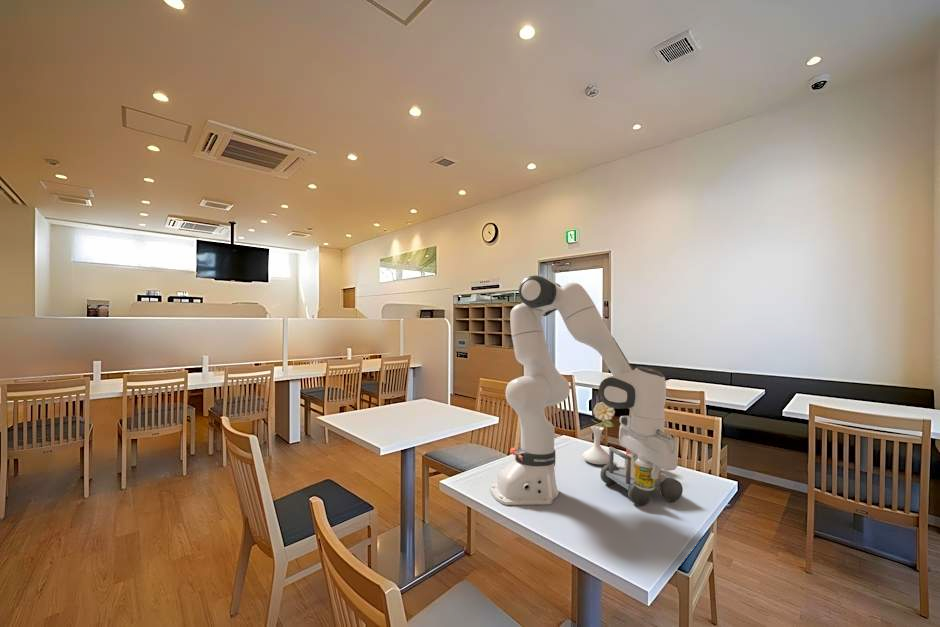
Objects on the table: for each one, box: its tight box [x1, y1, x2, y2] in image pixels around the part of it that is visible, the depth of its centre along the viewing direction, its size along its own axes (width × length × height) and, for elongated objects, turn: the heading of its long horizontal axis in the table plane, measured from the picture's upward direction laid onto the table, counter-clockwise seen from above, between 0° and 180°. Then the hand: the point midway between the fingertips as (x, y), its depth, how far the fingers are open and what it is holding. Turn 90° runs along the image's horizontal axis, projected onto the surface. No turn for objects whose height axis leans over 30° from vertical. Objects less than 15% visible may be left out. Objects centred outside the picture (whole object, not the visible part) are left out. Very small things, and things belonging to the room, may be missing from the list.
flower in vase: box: [582, 401, 616, 466], centre depth 160 cm, size 13×11×25 cm
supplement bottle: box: [635, 453, 656, 492], centre depth 113 cm, size 5×5×10 cm
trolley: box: [600, 446, 683, 507], centre depth 133 cm, size 19×17×14 cm
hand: (644, 473), depth 113 cm, fingers closed on supplement bottle, 5 cm apart
